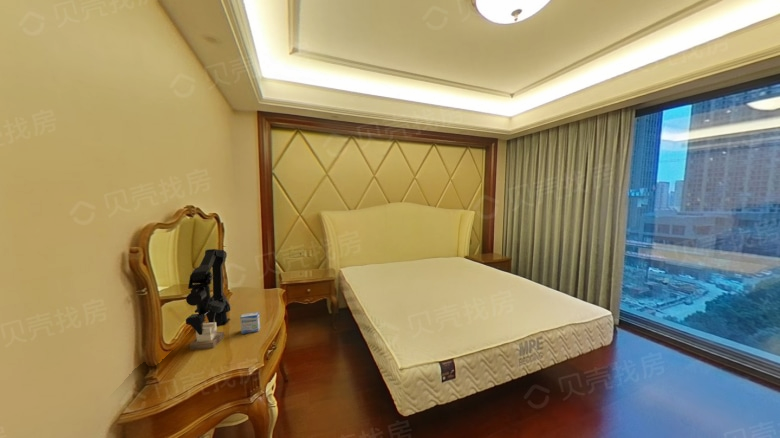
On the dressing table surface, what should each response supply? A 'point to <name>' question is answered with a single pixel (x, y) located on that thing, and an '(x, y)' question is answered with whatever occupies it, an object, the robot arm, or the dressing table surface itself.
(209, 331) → the maple cube
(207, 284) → the robot arm
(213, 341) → the walnut block
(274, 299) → the dressing table surface
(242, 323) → the medicine box
